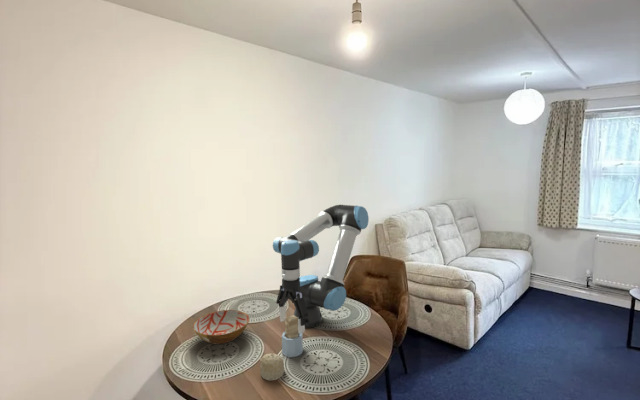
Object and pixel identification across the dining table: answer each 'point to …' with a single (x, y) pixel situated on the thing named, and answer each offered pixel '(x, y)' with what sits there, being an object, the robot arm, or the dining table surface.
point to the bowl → (221, 326)
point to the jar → (292, 345)
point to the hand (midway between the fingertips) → (292, 326)
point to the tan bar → (291, 327)
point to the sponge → (271, 367)
